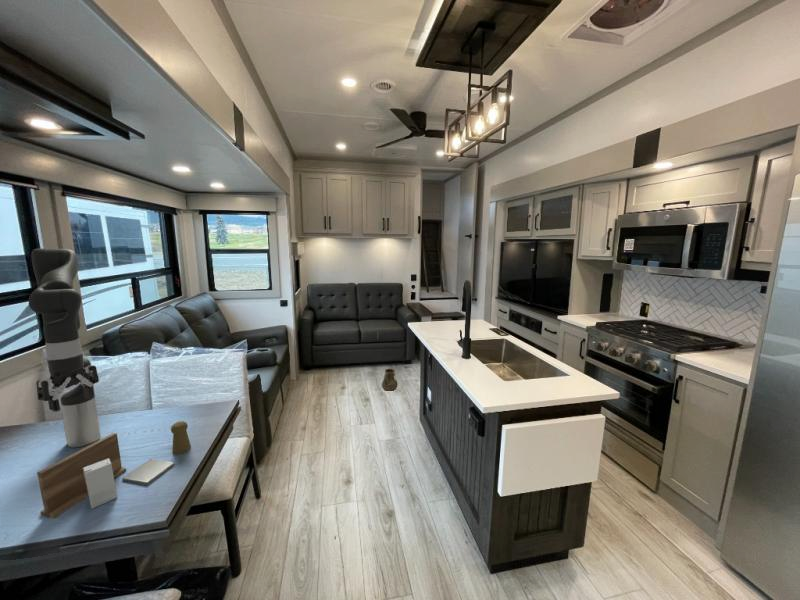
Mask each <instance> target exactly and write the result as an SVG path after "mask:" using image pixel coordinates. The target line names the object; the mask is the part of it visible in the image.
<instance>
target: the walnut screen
mask: <svg viewBox="0 0 800 600" xmlns="http://www.w3.org/2000/svg"><path fill="white" fill-rule="evenodd" d="M108 458H109V459H110V462H111V464H112V470H113V475H114V478H115V477H116V478H118V477H119V476H121V475H122V474H123V472H124V473H125V472H127V468H126V467H122V459H121V452H120V445H119V439H118V433H115V432H113V433H110V434H108V435H107V436H105V437H103V438H100V439H98V440H97V441H95V442H93V443H91V444H88V445H86V446H84V447H83V448H82V449H79V450H78V451H76V452H74V453H72V454H70V455H68V456H66V457H65V458H63V459H60V460H59V461H57V462H54V463H52V464H51V465H49V466H47V467H45V468H43V469H41V470H39V471H37V478H38V479H37V480H38V484H39V489H40V494H41V500H42V505H43V509H42V510H41V511H40V516H42V517H46V518H51V519H55V518H58V516H61V515H62V514H64V513H65V512H66V511H68V510H70V509H71V508H72V507H74V506H76V505H77V504H79V503H80V502H81V501H83V500H85V499H86V498H87V497H89V496H88V491H87V486H86V481H85V476H84V471H83V468H84V467H87V466H89V465H92V464H95V463H97V462H100V461H103V460H105V459H108ZM121 473H122V474H121ZM120 474H121V475H120ZM118 475H119V476H118ZM117 476H118V477H117ZM116 478H115V479H116Z"/></svg>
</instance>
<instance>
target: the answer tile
mask: <svg viewBox="0 0 800 600" xmlns="http://www.w3.org/2000/svg"><path fill="white" fill-rule="evenodd" d="M174 466H175V462H171V461H168V460H167V461H166V460H159V459H152V458H151V459H148V460H147V461H146V462H144V463H142V464H141V465H140V466H138V467H136V468H135V469H134V470H132V471H130V472H129V473H128V474H126V475H124V476H123V477H122V478H121V480H125V481H124V482H127V481H130V482H129V483H132V482H134V483H135V484H138V485H144V486H149V485H150V484H151V483H152V482H154V481H156V480H157V479H158V478H159V477H160V476H162V475H163V474H164V473H166V472H167V471H168V470H170V469H171V468H172V467H174ZM134 483H133V484H134Z"/></svg>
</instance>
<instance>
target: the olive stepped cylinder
mask: <svg viewBox="0 0 800 600" xmlns="http://www.w3.org/2000/svg"><path fill="white" fill-rule="evenodd" d="M187 429H188V422H186V421H178V422H176V423H173V424H172V425H171V426H170V432H171V433H172V448H171V449H172V450H171V451H172V452H171V453H172V454H174V455H181V454H184V453H186V452H188V451H189V450H190V449H191V447H192V446H191V445H192V444H191V442H190V438H189V435H188V431H187Z"/></svg>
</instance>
